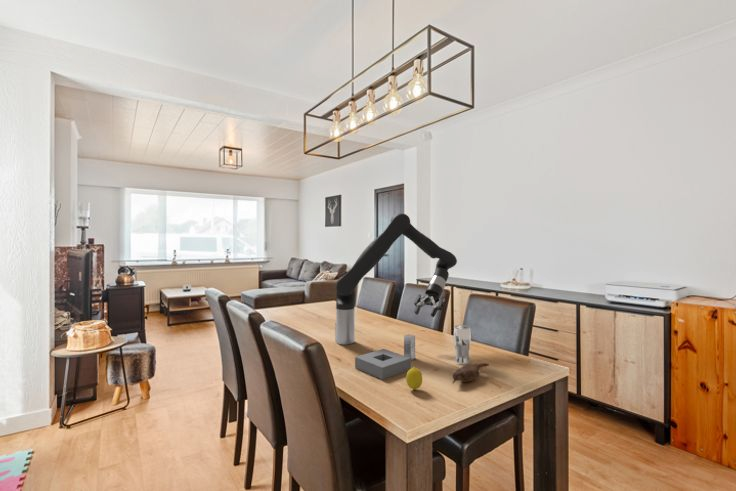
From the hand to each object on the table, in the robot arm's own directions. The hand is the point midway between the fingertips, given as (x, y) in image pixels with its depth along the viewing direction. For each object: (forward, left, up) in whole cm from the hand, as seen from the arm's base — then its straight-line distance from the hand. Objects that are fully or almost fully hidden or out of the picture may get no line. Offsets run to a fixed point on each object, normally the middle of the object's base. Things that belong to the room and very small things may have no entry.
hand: (423, 314), depth 166 cm
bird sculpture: (+33, -12, -17) cm, 39 cm away
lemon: (+25, -35, -17) cm, 47 cm away
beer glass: (+20, +1, -17) cm, 27 cm away
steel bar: (+2, -12, -17) cm, 21 cm away
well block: (+3, -29, -17) cm, 34 cm away
